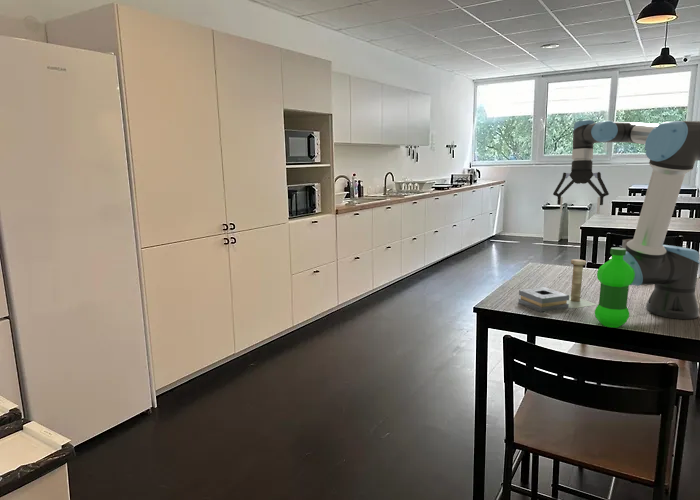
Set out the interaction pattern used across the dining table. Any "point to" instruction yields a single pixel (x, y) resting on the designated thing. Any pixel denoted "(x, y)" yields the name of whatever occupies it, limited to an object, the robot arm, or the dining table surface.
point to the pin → (577, 279)
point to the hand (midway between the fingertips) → (579, 213)
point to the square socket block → (543, 299)
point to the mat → (579, 303)
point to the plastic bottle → (614, 289)
